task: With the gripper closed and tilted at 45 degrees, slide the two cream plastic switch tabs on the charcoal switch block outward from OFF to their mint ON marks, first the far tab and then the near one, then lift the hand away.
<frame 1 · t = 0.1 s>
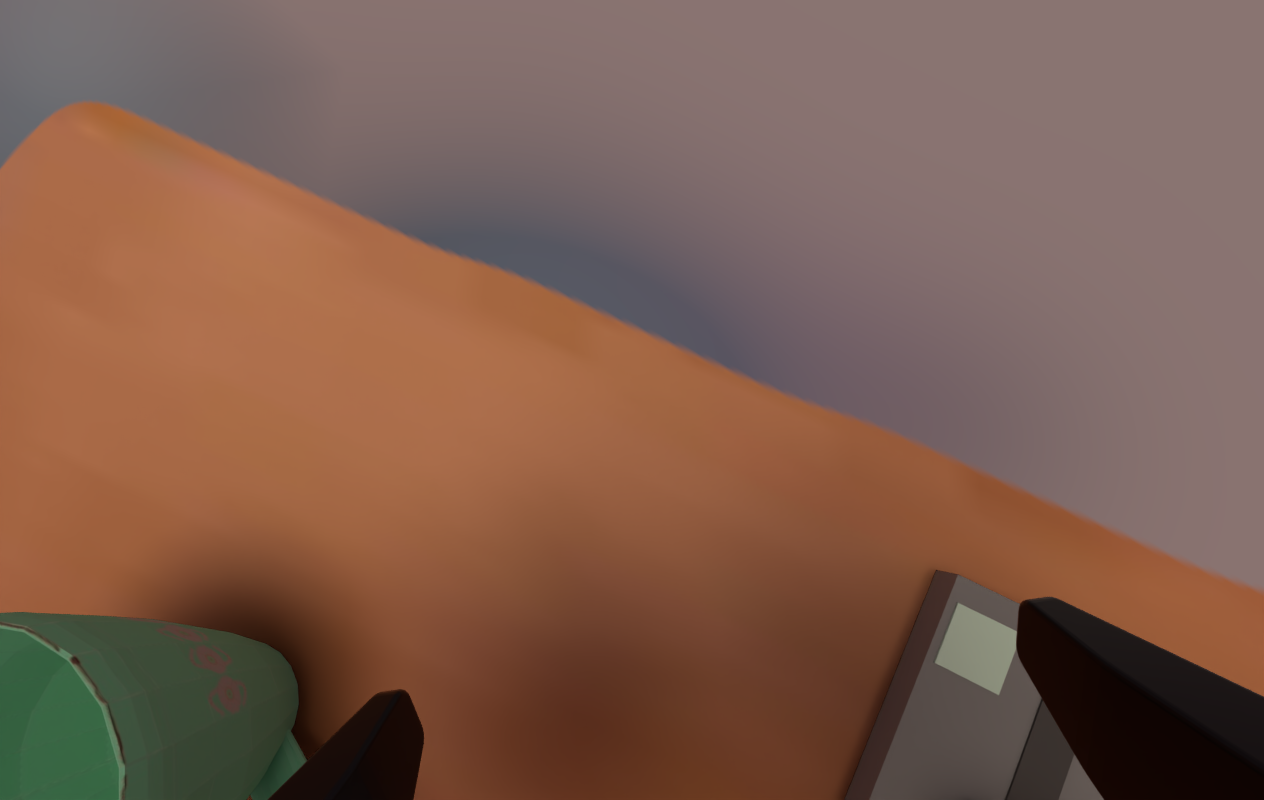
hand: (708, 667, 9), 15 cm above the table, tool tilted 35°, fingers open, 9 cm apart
mug: (288, 741, 23), on the table
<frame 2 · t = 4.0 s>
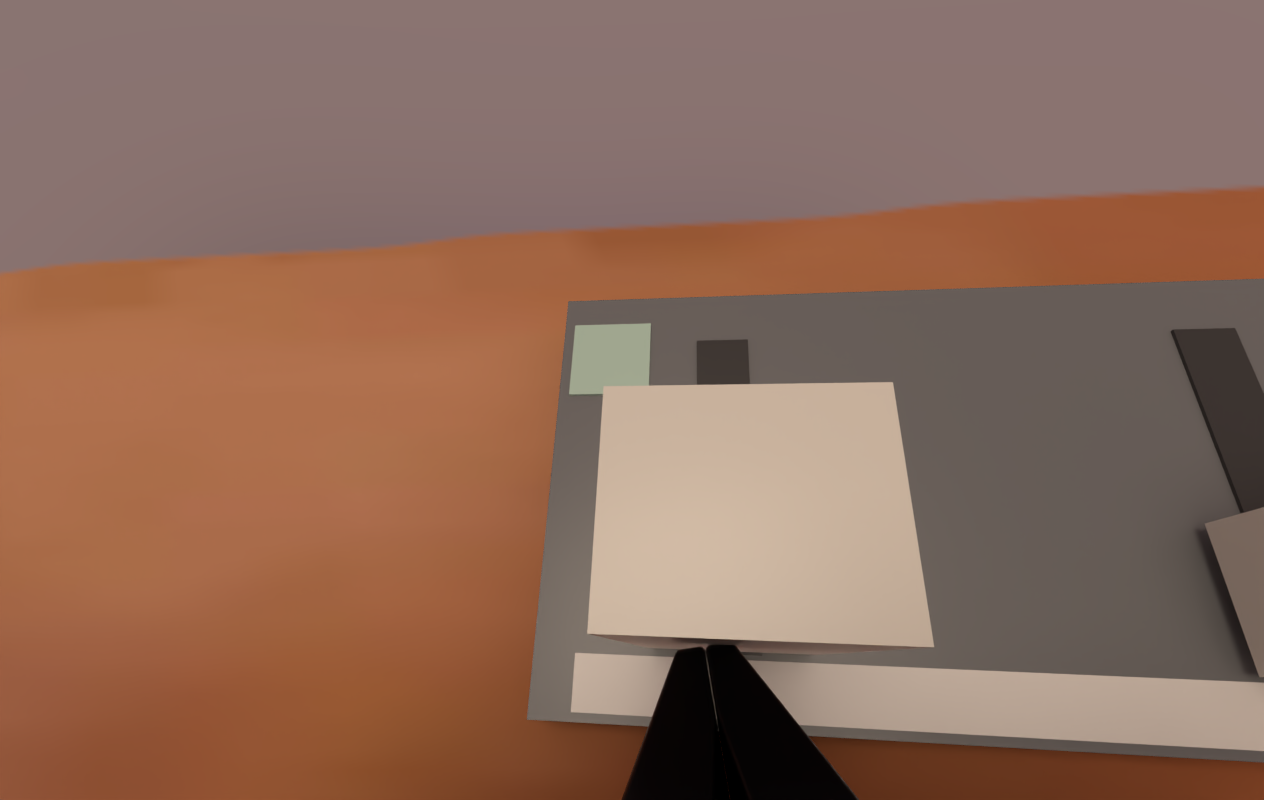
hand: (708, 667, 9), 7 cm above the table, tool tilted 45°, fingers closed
switch tab 1: (735, 553, 10), point 6 cm above the table, slide at 0.1 cm, touching gripper
switch block: (951, 501, 16), on the table
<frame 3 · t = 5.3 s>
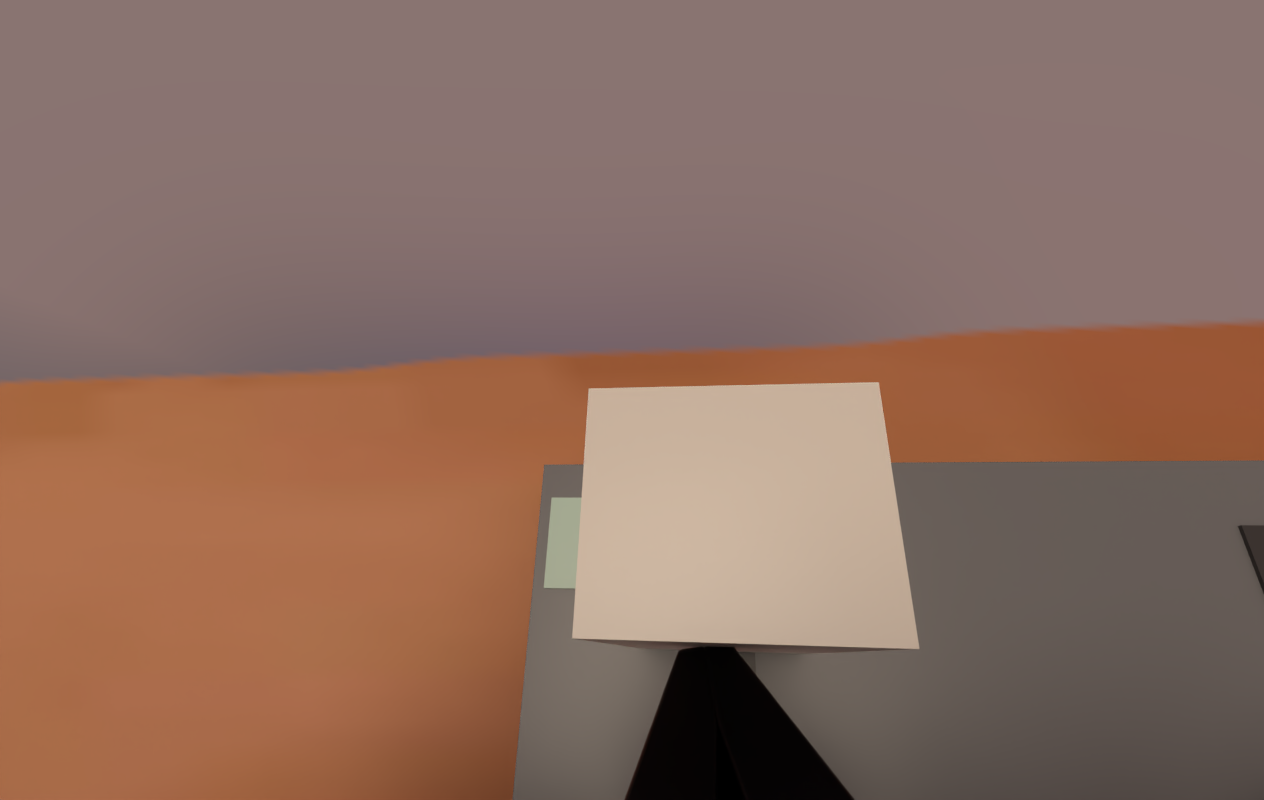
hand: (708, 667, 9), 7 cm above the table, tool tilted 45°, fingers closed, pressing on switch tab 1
switch tab 1: (725, 553, 10), point 6 cm above the table, slide at 5.1 cm, touching gripper
switch block: (984, 713, 14), on the table
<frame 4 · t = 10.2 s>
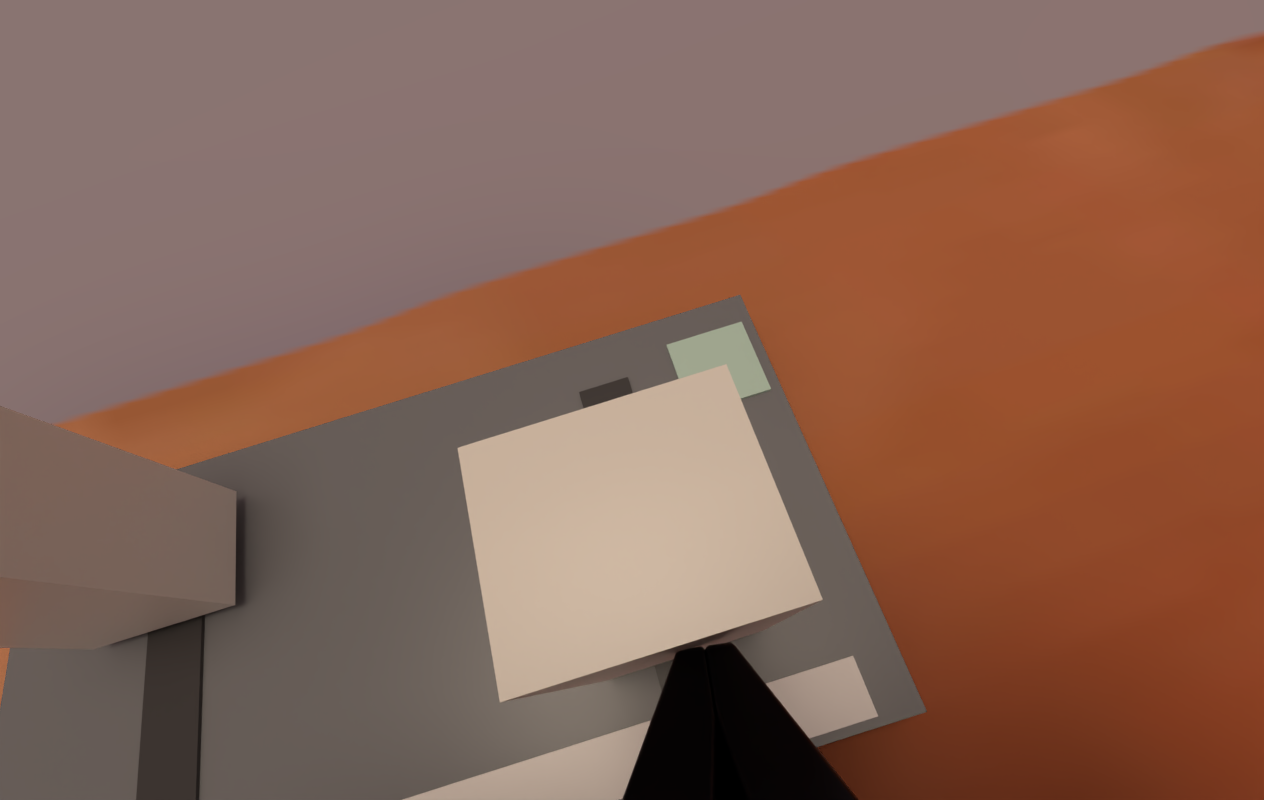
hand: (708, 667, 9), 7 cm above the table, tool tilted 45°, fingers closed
switch tab 1: (18, 540, 12), point 6 cm above the table, slide at 5.1 cm
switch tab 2: (650, 563, 10), point 6 cm above the table, slide at 0.9 cm, touching gripper
switch block: (441, 604, 16), on the table
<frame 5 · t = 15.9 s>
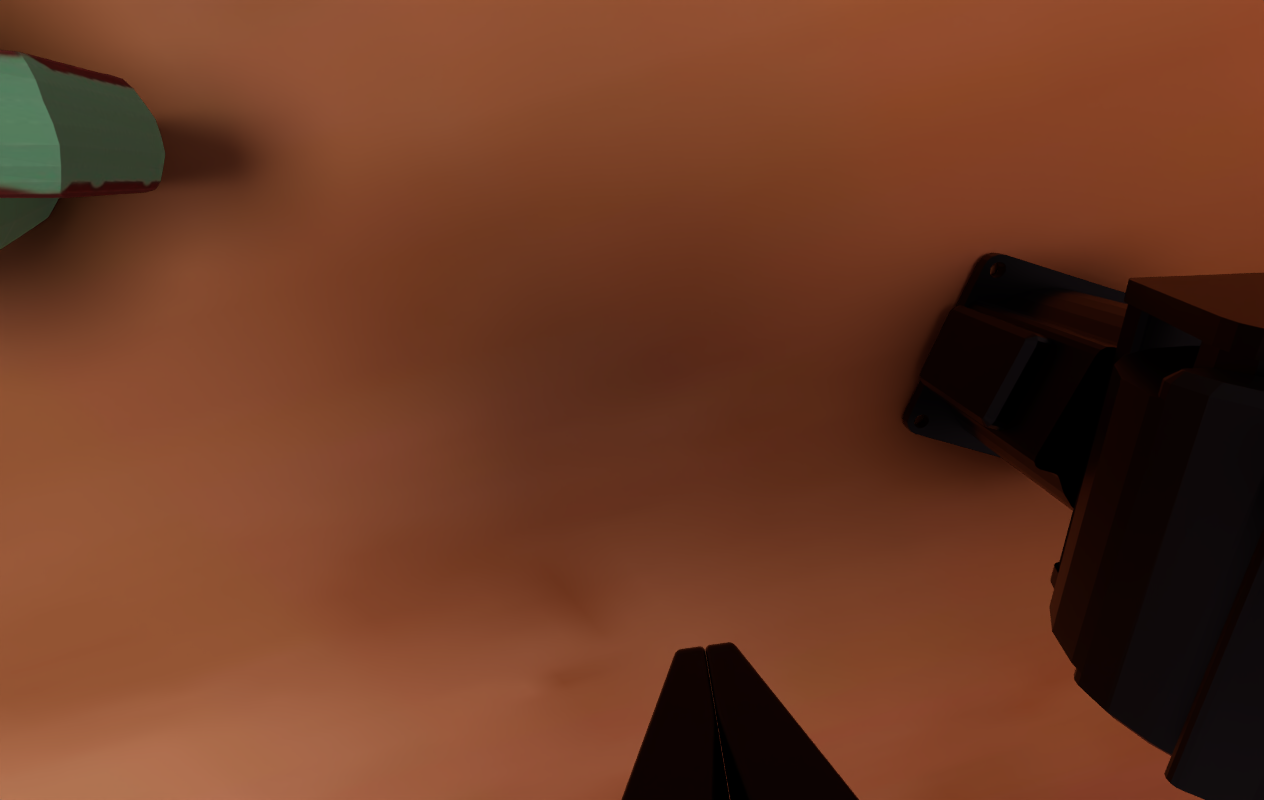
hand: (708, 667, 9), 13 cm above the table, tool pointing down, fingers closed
mug: (62, 150, 18), on the table
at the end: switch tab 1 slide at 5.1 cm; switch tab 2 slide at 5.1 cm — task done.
